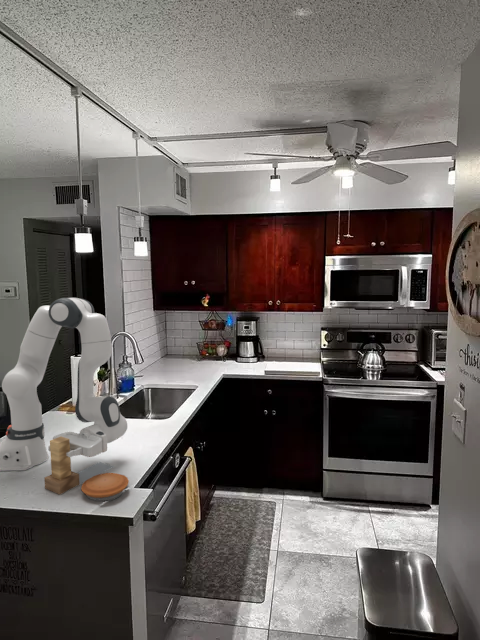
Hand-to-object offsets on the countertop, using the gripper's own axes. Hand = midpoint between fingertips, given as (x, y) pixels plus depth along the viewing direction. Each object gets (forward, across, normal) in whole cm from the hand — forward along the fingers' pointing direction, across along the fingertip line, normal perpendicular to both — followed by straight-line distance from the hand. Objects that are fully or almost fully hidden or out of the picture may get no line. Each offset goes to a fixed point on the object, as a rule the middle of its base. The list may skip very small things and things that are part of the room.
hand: (58, 451), depth 154 cm
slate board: (-9, 0, +14) cm, 17 cm away
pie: (-6, +15, +14) cm, 22 cm away
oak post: (-1, 0, +9) cm, 9 cm away
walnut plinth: (-1, 0, +13) cm, 13 cm away
